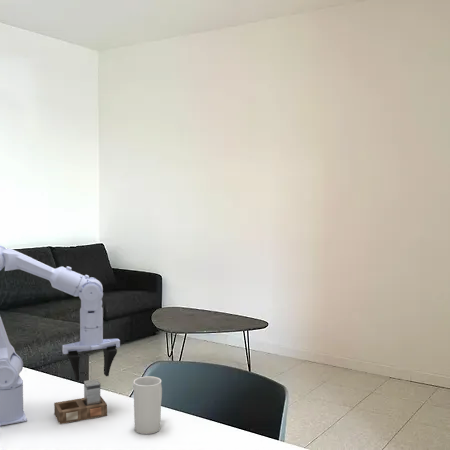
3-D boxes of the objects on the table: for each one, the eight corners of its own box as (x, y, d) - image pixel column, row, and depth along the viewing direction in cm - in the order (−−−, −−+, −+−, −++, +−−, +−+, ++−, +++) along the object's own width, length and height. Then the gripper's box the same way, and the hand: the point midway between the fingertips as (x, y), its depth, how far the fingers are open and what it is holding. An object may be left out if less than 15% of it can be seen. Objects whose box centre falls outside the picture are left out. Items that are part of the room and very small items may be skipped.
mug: (152, 437, 134) (152, 387, 133) (128, 431, 137) (127, 383, 136) (172, 421, 143) (172, 374, 142) (150, 416, 146) (149, 370, 145)
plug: (87, 415, 145) (87, 385, 145) (84, 410, 148) (83, 380, 148) (100, 413, 147) (100, 383, 146) (97, 408, 150) (97, 379, 149)
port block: (59, 424, 140) (59, 412, 140) (54, 413, 147) (54, 402, 147) (107, 416, 146) (107, 404, 146) (100, 406, 152) (100, 395, 152)
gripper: (66, 332, 139) (66, 386, 140) (123, 326, 146) (123, 377, 147) (60, 326, 146) (61, 377, 147) (115, 320, 152) (115, 369, 153)
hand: (91, 377), depth 147 cm, fingers open, 7 cm apart
